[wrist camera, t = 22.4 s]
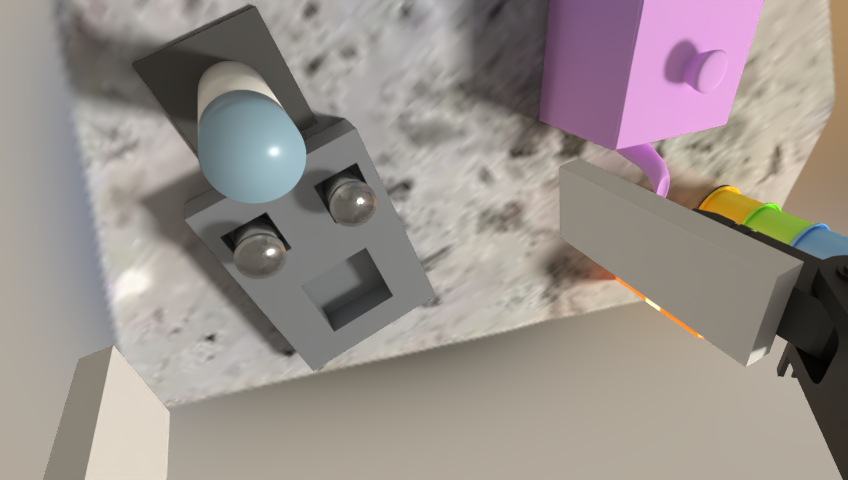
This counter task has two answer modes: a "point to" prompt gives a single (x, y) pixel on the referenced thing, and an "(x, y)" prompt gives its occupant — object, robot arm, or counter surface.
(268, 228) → the chrome dome knob
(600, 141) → the teapot
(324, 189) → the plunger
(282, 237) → the housing
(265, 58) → the mat
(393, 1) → the counter surface
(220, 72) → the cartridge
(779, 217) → the stacking cups
